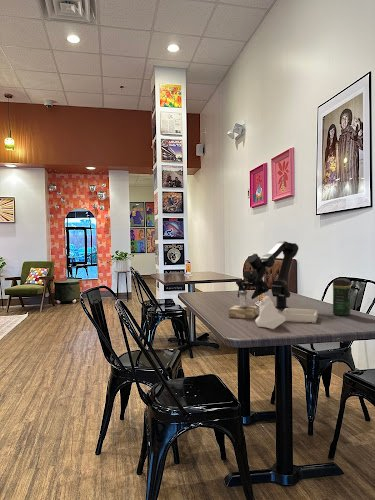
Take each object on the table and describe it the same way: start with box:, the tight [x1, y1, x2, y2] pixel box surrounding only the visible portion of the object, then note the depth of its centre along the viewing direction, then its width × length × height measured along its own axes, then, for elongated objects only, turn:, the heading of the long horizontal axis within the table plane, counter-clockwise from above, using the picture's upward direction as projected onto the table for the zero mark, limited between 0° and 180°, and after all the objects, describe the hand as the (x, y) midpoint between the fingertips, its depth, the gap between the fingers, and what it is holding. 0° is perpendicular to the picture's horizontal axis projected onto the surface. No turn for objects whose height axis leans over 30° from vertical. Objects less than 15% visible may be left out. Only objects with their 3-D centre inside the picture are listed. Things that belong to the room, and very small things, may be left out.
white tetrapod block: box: [254, 295, 287, 330], centre depth 166 cm, size 12×15×14 cm
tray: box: [280, 307, 319, 324], centre depth 179 cm, size 16×16×4 cm
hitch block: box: [228, 305, 258, 319], centre depth 190 cm, size 12×12×4 cm
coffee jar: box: [332, 277, 351, 316], centre depth 189 cm, size 10×8×19 cm
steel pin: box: [238, 290, 248, 309], centre depth 190 cm, size 4×4×12 cm
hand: (244, 297), depth 191 cm, fingers open, 9 cm apart
